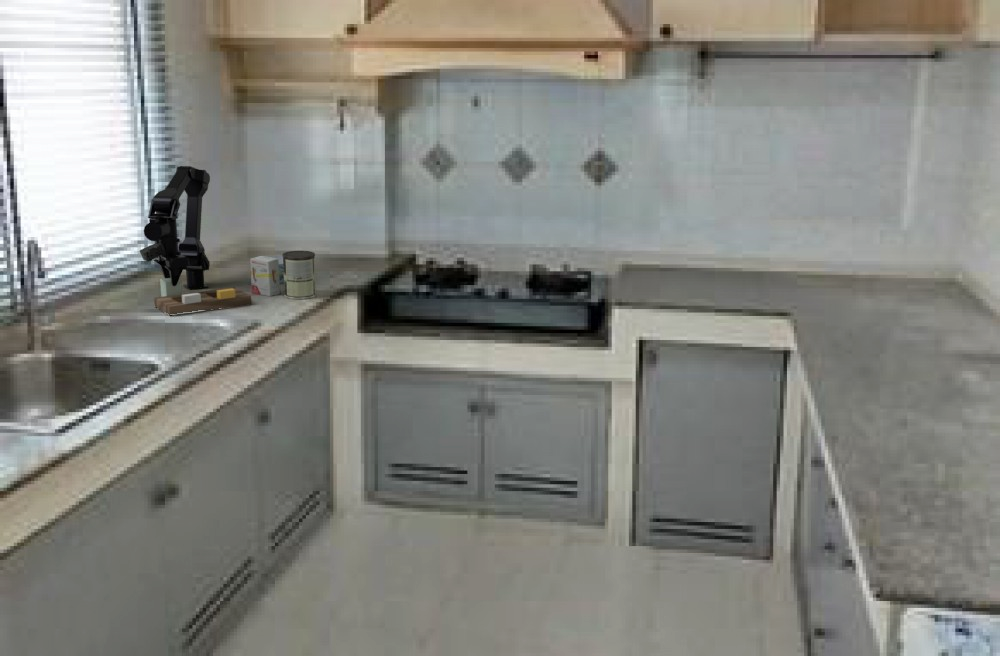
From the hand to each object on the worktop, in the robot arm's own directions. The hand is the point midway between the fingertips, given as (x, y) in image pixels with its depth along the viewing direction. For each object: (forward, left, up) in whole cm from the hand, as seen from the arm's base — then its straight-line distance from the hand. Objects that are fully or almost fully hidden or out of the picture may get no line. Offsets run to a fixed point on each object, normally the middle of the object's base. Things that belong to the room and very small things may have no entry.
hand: (171, 284), depth 311 cm
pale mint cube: (0, 0, -6) cm, 6 cm away
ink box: (+6, +29, -6) cm, 30 cm away
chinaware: (-8, +39, -6) cm, 40 cm away
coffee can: (+15, +37, -6) cm, 40 cm away
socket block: (+11, +6, -6) cm, 14 cm away
